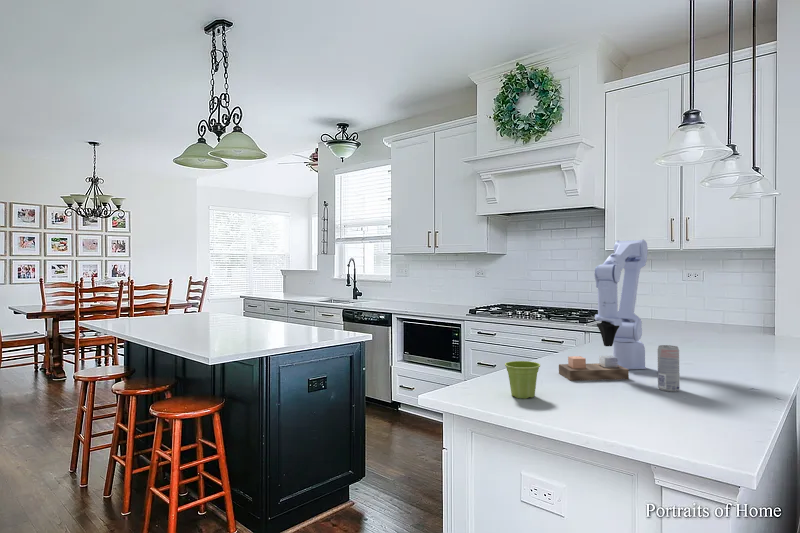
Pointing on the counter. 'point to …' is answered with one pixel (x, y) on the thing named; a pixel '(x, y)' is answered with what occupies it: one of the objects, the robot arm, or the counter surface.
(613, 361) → the white marbled block
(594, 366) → the button panel
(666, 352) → the energy drink
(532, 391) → the plant pot
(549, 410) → the counter surface
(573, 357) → the terracotta button
